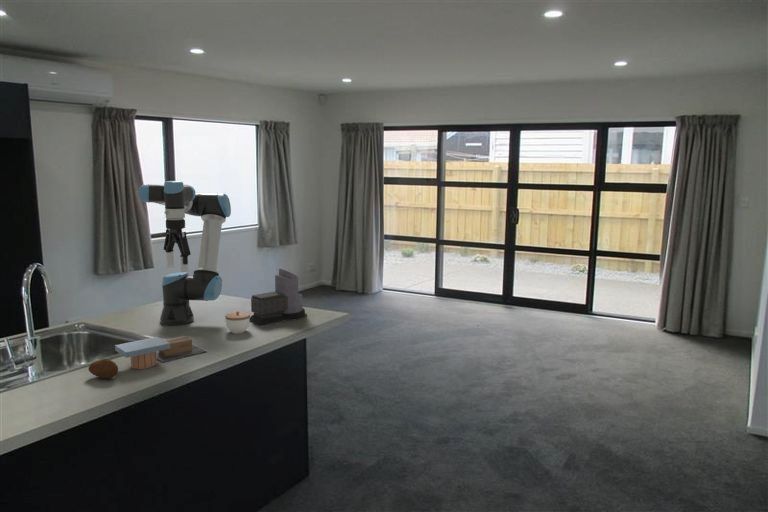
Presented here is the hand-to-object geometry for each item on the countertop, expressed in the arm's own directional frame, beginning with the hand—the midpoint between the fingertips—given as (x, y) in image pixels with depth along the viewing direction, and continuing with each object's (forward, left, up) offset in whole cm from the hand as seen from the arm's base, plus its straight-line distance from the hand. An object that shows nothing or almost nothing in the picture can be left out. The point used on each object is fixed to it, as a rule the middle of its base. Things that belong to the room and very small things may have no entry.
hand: (177, 269), depth 237 cm
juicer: (-4, +52, -31) cm, 61 cm away
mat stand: (+13, -8, -31) cm, 34 cm away
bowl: (+19, -23, -31) cm, 43 cm away
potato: (+23, -38, -31) cm, 54 cm away
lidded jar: (+4, +25, -31) cm, 40 cm away
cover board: (+19, -23, -25) cm, 39 cm away
